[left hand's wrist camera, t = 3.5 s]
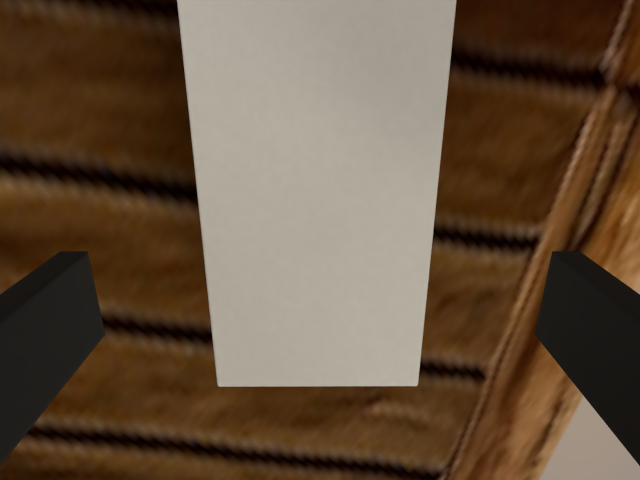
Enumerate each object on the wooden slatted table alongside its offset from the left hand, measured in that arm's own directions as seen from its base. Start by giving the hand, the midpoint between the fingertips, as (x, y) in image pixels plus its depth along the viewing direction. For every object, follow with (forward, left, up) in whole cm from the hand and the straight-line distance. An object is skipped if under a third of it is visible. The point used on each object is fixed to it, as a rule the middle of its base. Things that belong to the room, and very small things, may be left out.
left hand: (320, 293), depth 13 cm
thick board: (-2, +19, -11) cm, 22 cm away
